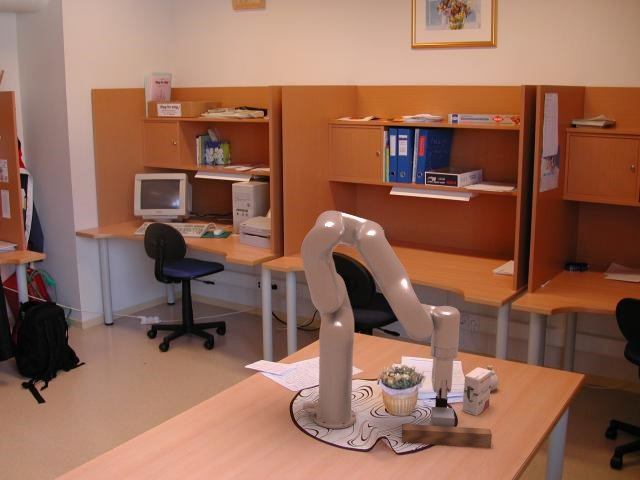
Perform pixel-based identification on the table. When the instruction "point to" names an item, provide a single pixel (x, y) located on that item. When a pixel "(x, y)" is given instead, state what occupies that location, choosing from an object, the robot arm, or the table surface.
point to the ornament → (493, 378)
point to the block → (442, 417)
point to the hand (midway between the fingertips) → (440, 409)
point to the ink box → (477, 391)
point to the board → (446, 435)
